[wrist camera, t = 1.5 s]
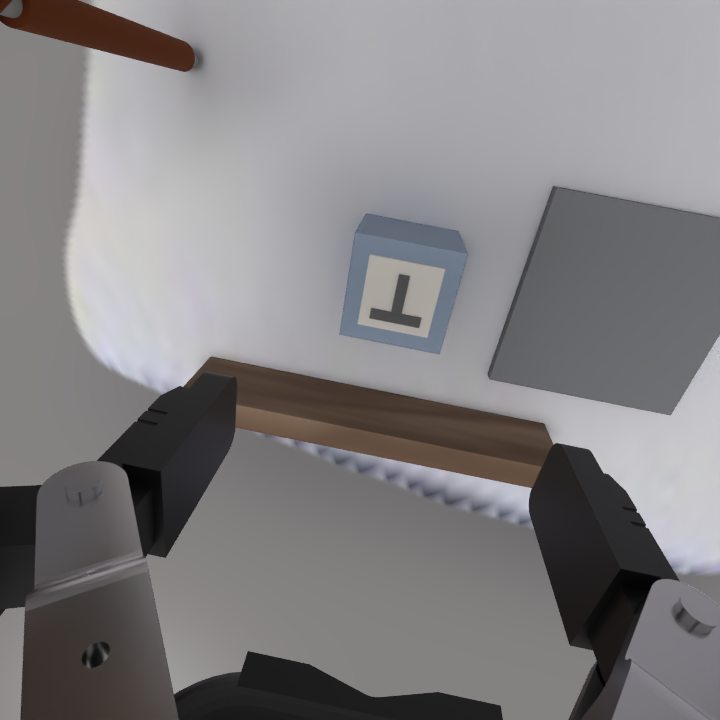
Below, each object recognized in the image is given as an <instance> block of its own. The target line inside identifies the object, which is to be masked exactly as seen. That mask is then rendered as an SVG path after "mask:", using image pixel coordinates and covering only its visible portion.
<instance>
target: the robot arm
mask: <svg viewBox="0 0 720 720" xmlns="http://www.w3.org/2000/svg"><path fill="white" fill-rule="evenodd" d="M236 401H237V380H236V378H235V377H232V376H227V375H222V374H217V373H212V372H207V371H205V372H204V373H202V375H201V376H200V377H199V378H198V379H197V380H196V381H195V382H194V383H193V385H192V386H191V387H190V388H186V387H181V386H179V387H177V388H175V389H173V390H171V391H169V392H167V393H165V394H163V395H161V396H160V397H159V398H158V399H157V400H156V401H155V402H154V403H153V404H152V405H151V406H150V407H149V408H148V411H145V412H144V413H143V414H142V415H141V416H140V417H139V418H138V421H137V422H134V423H133V424H132V426H130V428H128V430H126V432H125V433H124V434H123V435H122V436H121V437H120V438H119V439H118V440H117V441H116V442H115V443H114V444H113V445H112V446H111V447H110V448H109V449H108V450H107V451H106V452H105V453H104V454H103V455H102V456H101V457H100V458H99V459H98V460H97V461H92V462H91V461H90V462H83V463H79V464H75V465H72V466H69V467H67V468H64V469H63V470H60V471H59V472H57V473H55V474H54V475H52V476H51V477H50V478H49V479H47V480H46V481H45V482H44V483H43V485H36V486H12V487H0V615H1V614H2V613H3V612H4V610H5V609H8V608H17V607H25V622H24V646H23V669H22V670H23V671H22V694H21V718H20V720H503V718H502V712H501V706H499V705H495V704H490V703H486V702H481V701H476V700H472V699H467V698H462V697H458V696H453V695H449V694H444V693H439V692H435V693H424V694H412V695H401V696H390V697H371V696H368V695H365V694H363V693H362V692H360V691H358V690H356V689H354V688H352V687H350V686H349V685H347V684H345V683H343V682H341V681H339V680H337V679H336V678H334V677H332V676H330V675H328V674H326V673H324V672H322V671H321V670H319V669H317V668H315V667H313V666H311V665H309V664H305V663H300V662H296V661H291V660H286V659H282V658H277V657H272V656H268V655H263V654H259V653H254V652H249V651H248V653H247V656H246V659H245V662H244V665H243V669H242V671H241V672H235V673H227V674H223V675H219V676H214V677H211V678H208V679H205V680H202V681H200V682H197V683H195V684H193V685H191V686H189V687H187V688H185V689H183V690H181V691H179V692H177V693H176V694H174V693H173V688H172V683H171V678H170V673H169V668H168V664H167V658H166V653H165V648H164V644H163V638H162V634H161V629H160V623H159V619H158V614H157V609H156V604H155V599H154V594H153V589H152V584H151V579H150V574H149V569H148V565H147V560H146V556H147V554H150V555H155V556H160V557H165V558H166V556H167V555H168V553H169V551H170V550H171V548H172V546H173V545H174V543H175V541H176V539H177V538H178V536H179V534H180V533H181V531H182V529H183V528H184V526H185V524H186V522H187V521H188V519H189V517H190V516H191V514H192V512H193V511H194V509H195V507H196V506H197V504H198V502H199V500H200V499H201V497H202V495H203V494H204V492H205V490H206V489H207V487H208V485H209V483H210V481H211V480H212V478H213V477H214V475H215V473H216V471H217V470H218V468H219V466H220V465H221V463H222V461H223V459H224V458H225V456H226V455H227V453H228V451H229V449H230V447H231V444H232V441H233V438H234V433H235V424H236ZM636 511H637V509H636V507H635V505H634V504H633V502H632V500H631V499H630V497H629V495H628V494H627V492H626V491H625V490H624V489H623V488H622V487H621V486H620V485H619V484H618V483H617V482H616V481H615V480H614V479H613V478H612V477H611V476H610V475H609V474H604V473H603V472H602V470H601V468H600V466H599V465H598V463H597V461H596V459H595V458H594V456H593V454H592V453H591V451H590V450H588V449H583V448H578V447H574V446H569V445H564V444H559V443H556V444H554V445H553V446H552V447H551V449H550V451H549V453H548V455H547V457H546V459H545V461H544V464H543V466H542V468H541V470H540V472H539V474H538V476H537V479H536V481H535V483H534V485H533V487H532V490H531V493H530V498H529V513H530V517H531V520H532V523H533V527H534V530H535V533H536V536H537V540H538V543H539V546H540V550H541V552H542V556H543V559H544V563H545V566H546V569H547V572H548V575H549V579H550V582H551V585H552V589H553V592H554V595H555V599H556V602H557V605H558V608H559V612H560V615H561V618H562V621H563V625H564V628H565V631H566V634H567V638H568V641H569V644H570V645H571V646H576V647H580V648H585V649H590V650H593V651H594V654H595V657H596V660H597V661H596V663H595V664H594V665H593V667H592V668H591V670H590V672H589V674H588V676H587V678H586V681H585V683H584V685H583V687H582V690H581V692H580V694H579V696H578V699H577V701H576V703H575V705H574V708H573V710H572V712H571V715H570V717H569V719H568V720H720V606H719V605H718V604H716V603H715V602H714V601H713V600H712V599H710V598H709V597H708V596H706V595H705V594H704V593H702V592H701V591H699V590H697V589H695V588H693V587H691V586H690V585H687V584H685V583H682V582H680V581H679V579H678V578H677V576H676V574H675V573H674V571H673V569H672V567H671V566H670V564H669V562H668V561H667V559H666V557H665V556H664V554H663V552H662V551H661V549H660V547H659V546H658V544H657V542H656V541H655V539H654V537H653V536H652V534H651V532H650V531H649V529H648V528H646V527H645V526H646V524H645V522H644V521H643V519H642V517H641V516H640V514H639V513H637V512H636Z"/></svg>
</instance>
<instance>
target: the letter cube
mask: <svg viewBox="0 0 720 720" xmlns="http://www.w3.org/2000/svg"><path fill="white" fill-rule="evenodd" d="M467 255H468V253H467V251H466V248H465V246H464V244H463V241H462V239H461V236H460V234H459V231H455V230H449V229H444V228H439V227H434V226H428V225H423V224H418V223H413V222H408V221H402V220H397V219H392V218H387V217H382V216H376V215H371V214H366V215H365V217H364V219H363V220H362V222H361V224H360V225H359V227H358V229H357V230H356V232H355V238H354V244H353V250H352V257H351V263H350V269H349V276H348V282H347V289H346V295H345V301H344V308H343V314H342V320H341V327H340V333H339V334H340V335H345V336H350V337H355V338H360V339H365V340H370V341H375V342H380V343H385V344H390V345H395V346H400V347H405V348H410V349H415V350H420V351H425V352H430V353H435V354H440V351H441V347H442V344H443V340H444V337H445V333H446V330H447V326H448V323H449V319H450V316H451V312H452V308H453V305H454V301H455V298H456V294H457V291H458V287H459V284H460V280H461V277H462V273H463V270H464V266H465V262H466V259H467Z"/></svg>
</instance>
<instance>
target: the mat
mask: <svg viewBox="0 0 720 720" xmlns="http://www.w3.org/2000/svg"><path fill="white" fill-rule="evenodd" d="M719 335H720V218H718V217H712V216H707V215H702V214H697V213H691V212H686V211H681V210H676V209H670V208H665V207H660V206H654V205H649V204H644V203H639V202H633V201H628V200H623V199H618V198H612V197H607V196H602V195H597V194H591V193H586V192H581V191H575V190H570V189H565V188H560V187H553V189H552V192H551V195H550V198H549V201H548V204H547V207H546V209H545V212H544V215H543V218H542V221H541V224H540V227H539V229H538V232H537V235H536V238H535V241H534V244H533V247H532V249H531V252H530V255H529V258H528V261H527V264H526V267H525V269H524V272H523V275H522V278H521V281H520V284H519V287H518V289H517V292H516V295H515V298H514V301H513V304H512V307H511V309H510V312H509V315H508V318H507V321H506V324H505V326H504V329H503V332H502V335H501V338H500V341H499V344H498V346H497V349H496V352H495V355H494V358H493V361H492V364H491V366H490V369H489V372H488V377H489V379H491V380H496V381H501V382H506V383H511V384H516V385H521V386H526V387H531V388H536V389H541V390H546V391H551V392H556V393H561V394H566V395H571V396H576V397H581V398H586V399H591V400H596V401H601V402H606V403H611V404H616V405H621V406H626V407H631V408H636V409H641V410H646V411H651V412H656V413H661V414H666V415H671V414H672V412H673V411H674V409H675V407H676V406H677V404H678V402H679V401H680V399H681V397H682V396H683V394H684V392H685V391H686V389H687V388H688V386H689V384H690V383H691V381H692V379H693V378H694V376H695V374H696V373H697V371H698V369H699V368H700V366H701V365H702V363H703V361H704V360H705V358H706V356H707V355H708V353H709V351H710V350H711V348H712V346H713V345H714V343H715V341H716V340H717V338H718V337H719Z"/></svg>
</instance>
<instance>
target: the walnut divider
mask: <svg viewBox="0 0 720 720" xmlns="http://www.w3.org/2000/svg"><path fill="white" fill-rule="evenodd" d="M205 371H207V372H212V373H217V374H222V375H227V376H232V377H235V378H236V380H237V401H236V424H235V427H236V428H240V429H245V430H250V431H255V432H260V433H265V434H270V435H275V436H280V437H284V438H289V439H294V440H299V441H304V442H309V443H314V444H319V445H324V446H329V447H333V448H338V449H343V450H348V451H353V452H358V453H363V454H368V455H373V456H377V457H382V458H387V459H392V460H397V461H402V462H407V463H412V464H417V465H421V466H426V467H431V468H436V469H441V470H446V471H451V472H456V473H461V474H466V475H470V476H475V477H480V478H485V479H490V480H495V481H500V482H505V483H510V484H514V485H519V486H524V487H529V488H532V487H533V485H534V483H535V481H536V479H537V476H538V474H539V472H540V470H541V468H542V466H543V464H544V461H545V459H546V457H547V455H548V453H549V451H550V449H551V447H552V446H553V443H552V440H551V438H550V436H549V433H548V431H547V429H546V427H545V424H542V423H537V422H532V421H527V420H522V419H517V418H512V417H507V416H502V415H497V414H492V413H487V412H482V411H477V410H472V409H467V408H462V407H457V406H452V405H447V404H442V403H437V402H432V401H427V400H422V399H417V398H413V397H408V396H403V395H398V394H393V393H388V392H383V391H378V390H373V389H368V388H363V387H358V386H353V385H348V384H343V383H338V382H333V381H328V380H323V379H318V378H313V377H308V376H303V375H298V374H293V373H288V372H283V371H278V370H273V369H268V368H263V367H258V366H253V365H248V364H244V363H239V362H234V361H229V360H224V359H219V358H214V357H210V358H209V359H208V360H207V361H206V363H205V364H204V365H203V366H202V367H201V368H200V369H199V370H198V371H197V373H196V374H195V375H194V376H193V377H192V378H191V379H190V380H189V381H188V382H187V384H186V385H185V386H184V387H186V388H190V387H191V386H192V385H193V383H194V382H195V381H196V380H197V379H198V378H199V377H200V376H201V375H202V373H204V372H205Z"/></svg>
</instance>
